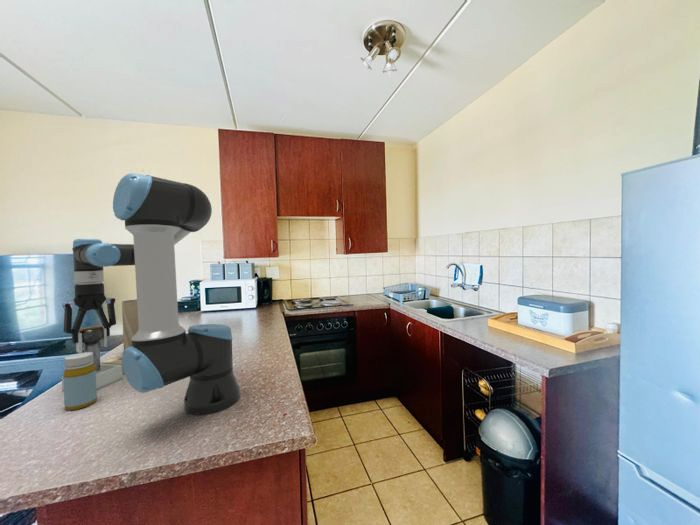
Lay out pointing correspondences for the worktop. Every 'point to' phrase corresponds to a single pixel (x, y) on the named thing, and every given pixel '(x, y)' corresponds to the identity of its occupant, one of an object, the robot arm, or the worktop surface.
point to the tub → (106, 375)
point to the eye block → (114, 362)
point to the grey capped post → (93, 342)
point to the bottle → (79, 381)
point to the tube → (129, 321)
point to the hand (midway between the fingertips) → (92, 348)
